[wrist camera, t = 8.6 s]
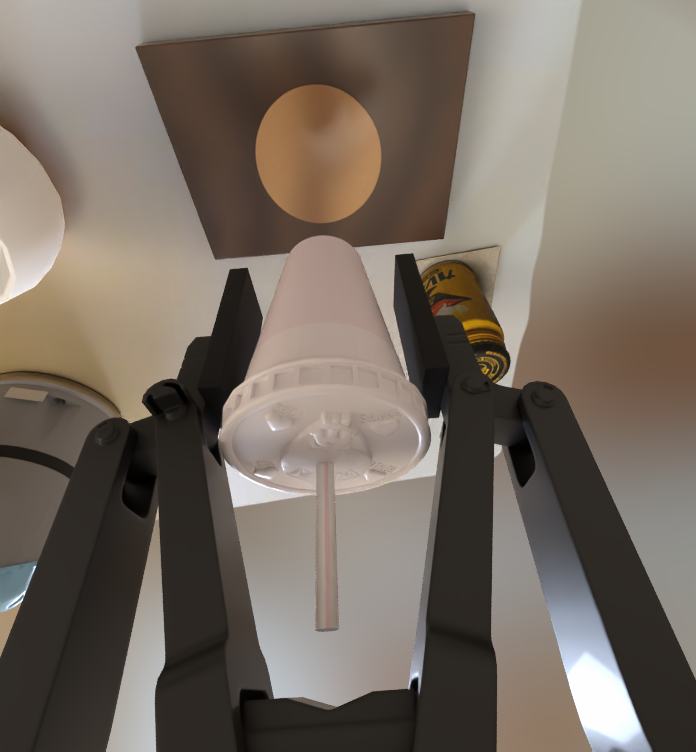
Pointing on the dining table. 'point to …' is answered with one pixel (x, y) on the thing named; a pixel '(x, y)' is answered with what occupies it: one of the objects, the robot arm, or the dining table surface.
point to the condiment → (469, 302)
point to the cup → (26, 219)
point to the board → (316, 129)
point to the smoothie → (324, 398)
